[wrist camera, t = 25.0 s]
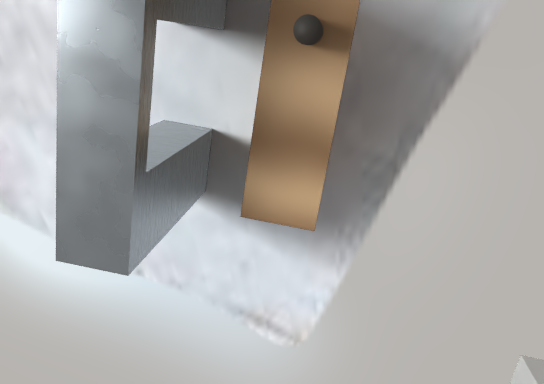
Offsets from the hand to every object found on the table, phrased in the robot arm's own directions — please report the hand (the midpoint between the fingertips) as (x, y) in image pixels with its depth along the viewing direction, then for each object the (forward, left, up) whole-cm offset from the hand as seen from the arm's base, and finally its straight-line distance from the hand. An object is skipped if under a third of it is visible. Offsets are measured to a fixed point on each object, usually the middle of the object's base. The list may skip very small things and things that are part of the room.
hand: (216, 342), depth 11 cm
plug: (0, +3, -27) cm, 27 cm away
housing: (-9, +3, -27) cm, 28 cm away
